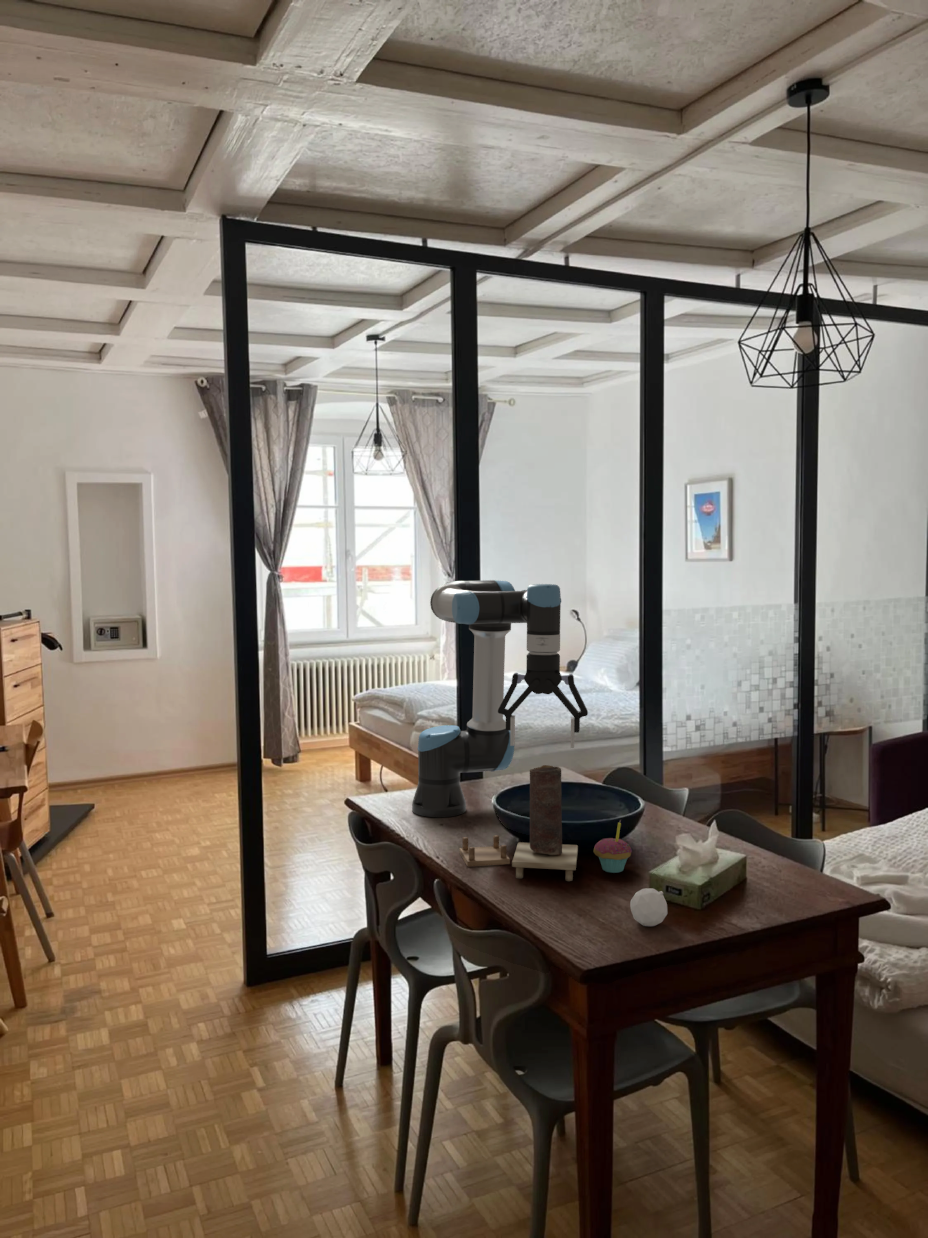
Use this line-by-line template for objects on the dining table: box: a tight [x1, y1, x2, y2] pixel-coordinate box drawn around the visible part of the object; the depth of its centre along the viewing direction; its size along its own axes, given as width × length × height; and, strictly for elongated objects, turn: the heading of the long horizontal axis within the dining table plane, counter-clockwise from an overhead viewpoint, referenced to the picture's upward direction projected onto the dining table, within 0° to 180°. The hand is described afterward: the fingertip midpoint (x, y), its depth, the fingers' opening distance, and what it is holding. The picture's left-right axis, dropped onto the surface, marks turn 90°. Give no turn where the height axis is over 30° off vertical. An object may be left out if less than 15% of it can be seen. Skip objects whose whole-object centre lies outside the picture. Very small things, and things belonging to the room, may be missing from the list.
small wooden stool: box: [511, 841, 579, 882], centre depth 216 cm, size 14×14×4 cm
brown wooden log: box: [529, 764, 563, 855], centre depth 215 cm, size 8×7×20 cm
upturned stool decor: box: [459, 834, 511, 868], centre depth 224 cm, size 10×10×4 cm
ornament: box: [629, 887, 668, 927], centre depth 184 cm, size 7×7×8 cm
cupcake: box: [593, 819, 633, 874], centre depth 216 cm, size 9×8×12 cm
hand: (542, 745), depth 215 cm, fingers open, 13 cm apart
